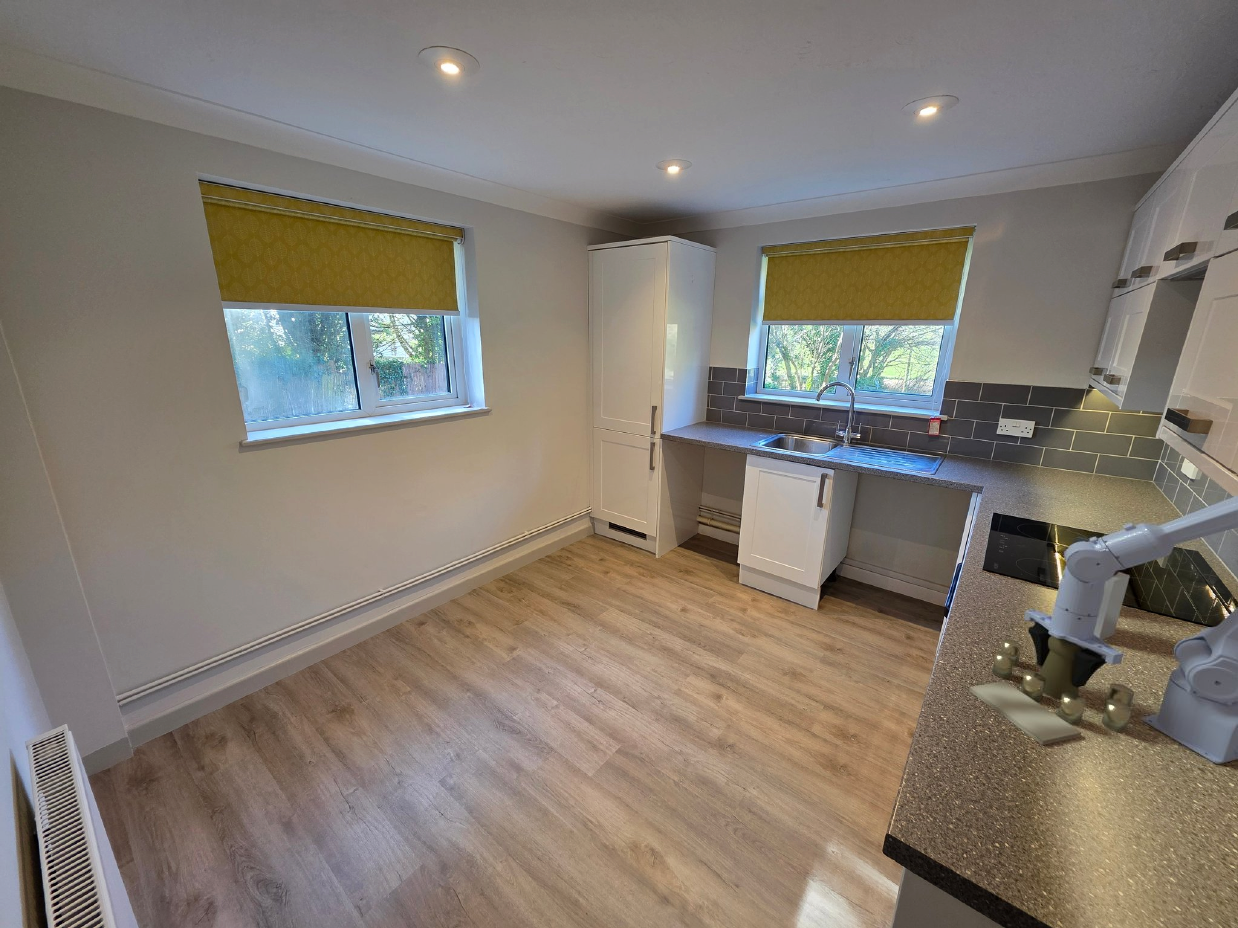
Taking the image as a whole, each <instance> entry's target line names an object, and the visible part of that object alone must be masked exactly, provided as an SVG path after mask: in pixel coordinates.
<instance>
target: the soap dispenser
mask: <svg viewBox="0 0 1238 928" xmlns="http://www.w3.org/2000/svg"><path fill="white" fill-rule="evenodd" d="M1089 539H1090V538H1086V537H1083V536H1075V538H1074V543H1077V542H1082V541H1085V542H1090V540H1089ZM1130 577H1131V575H1130V574H1128V573H1127V574H1126V573H1123V572H1120V570H1116V571H1115V573H1114V575H1113V576H1112V578H1110V579H1109V580H1108V581H1106V582H1105V586H1104V596H1103V599H1102V603H1101V607H1100V611H1099V615H1098V619H1097V623H1096V626H1095V630H1094V635H1095V636H1097V637H1098V638H1100V639H1101V640H1103V641H1104V640H1106V639H1108V638H1110V637H1113V636H1114V635H1115V632H1116V628H1117V624H1118V622H1119V617H1120V613H1121V610H1122V606H1123V602H1124V599H1125V594H1126V592H1127V587H1128V584H1129V581H1130Z"/></svg>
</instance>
